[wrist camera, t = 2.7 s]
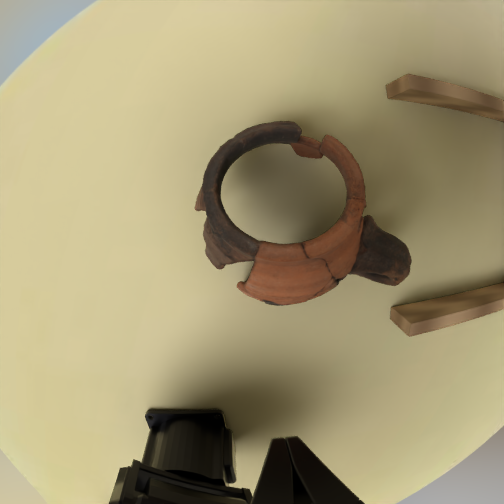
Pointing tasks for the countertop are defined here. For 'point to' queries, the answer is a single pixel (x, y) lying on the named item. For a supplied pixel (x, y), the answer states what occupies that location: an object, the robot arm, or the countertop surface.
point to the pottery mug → (308, 252)
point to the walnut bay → (466, 303)
